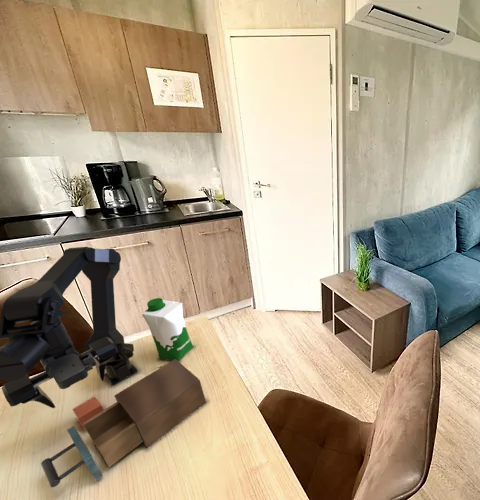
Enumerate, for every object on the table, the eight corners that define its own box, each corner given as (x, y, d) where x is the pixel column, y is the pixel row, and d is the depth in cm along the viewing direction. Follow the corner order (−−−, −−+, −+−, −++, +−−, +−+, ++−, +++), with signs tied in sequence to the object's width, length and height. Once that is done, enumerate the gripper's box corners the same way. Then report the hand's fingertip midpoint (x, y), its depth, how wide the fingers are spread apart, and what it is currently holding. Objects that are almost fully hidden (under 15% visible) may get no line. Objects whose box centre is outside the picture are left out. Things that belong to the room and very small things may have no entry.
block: (79, 421, 72) (72, 409, 71) (100, 407, 76) (94, 396, 74) (85, 431, 70) (78, 418, 68) (107, 416, 74) (101, 405, 72)
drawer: (62, 506, 56) (48, 487, 53) (47, 469, 62) (33, 450, 59) (164, 429, 70) (156, 410, 67) (143, 405, 76) (136, 387, 73)
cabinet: (147, 447, 67) (136, 423, 63) (125, 418, 73) (114, 395, 70) (206, 402, 78) (199, 379, 74) (182, 380, 84) (175, 358, 81)
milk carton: (175, 341, 99) (159, 293, 91) (197, 345, 97) (184, 296, 89) (154, 360, 91) (135, 309, 83) (179, 364, 89) (162, 313, 81)
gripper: (-5, 391, 52) (33, 445, 58) (116, 334, 66) (137, 382, 72) (-15, 364, 57) (21, 415, 64) (99, 316, 71) (119, 363, 78)
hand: (79, 392), depth 69 cm, fingers open, 9 cm apart
